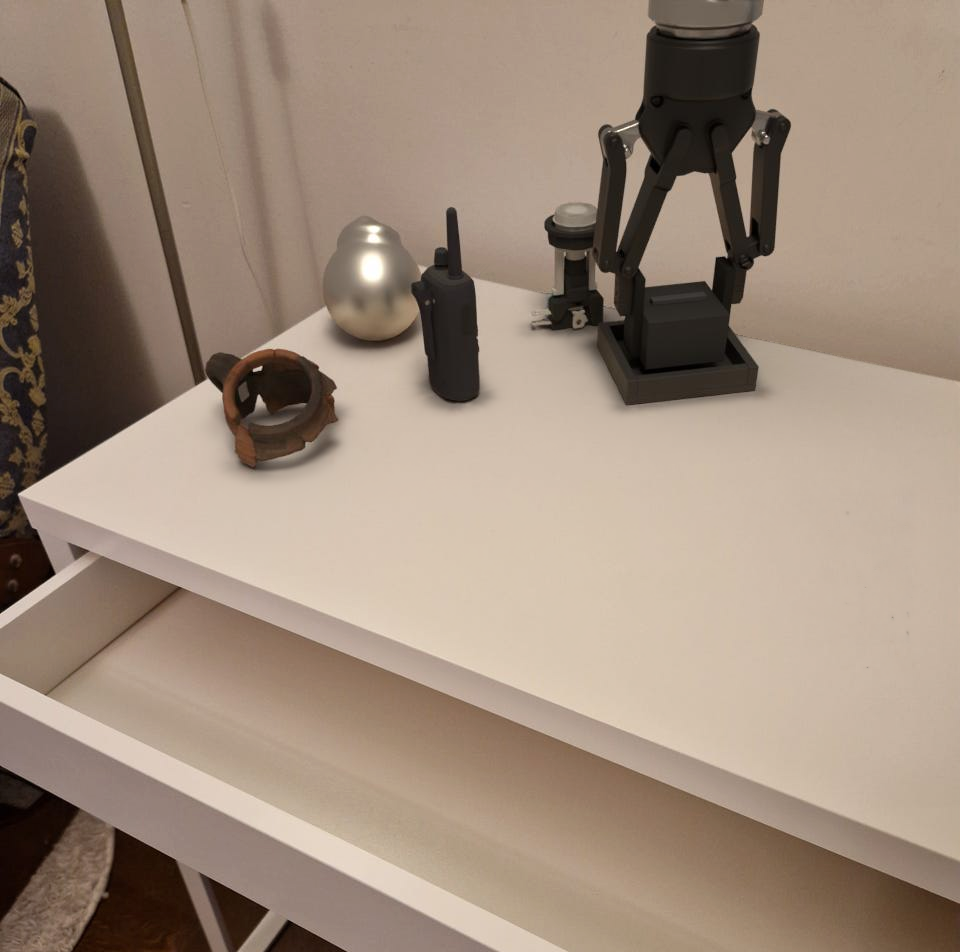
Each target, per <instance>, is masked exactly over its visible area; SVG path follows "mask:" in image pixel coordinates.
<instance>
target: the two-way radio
mask: <svg viewBox="0 0 960 952" xmlns="http://www.w3.org/2000/svg"><path fill="white" fill-rule="evenodd" d="M445 221H446V223H445V224H446V247H443V246H439V247H436V248H435V249H434V257H433V265H429V266H428V267H427V268H426V269H425V270H424V271H423V272H422V273H421V281H417V282H413V283H412V284H411V291H412V294H413V296H414V297H415V299H416V301H417V304H418V307H419V315H420V323H421V331H422V337H423V338H422V340H423V348H424V354H425V355H426V359H427V368H428V380H429V385H430V386H431V388H432V389H433V390H434V391H435V392H436V393H438V394H439V395H440V396H442V397H443V398H445V399H447V400H452V401H455V402H459V401H461V402H463V401H467V400H470V399H473V398H475V397H476V396H477V395H478V394H479V393H480V390H481V389H480V387H481V386H480V385H481V383H480V382H481V381H480V363H479V362H480V361H479V356H480V355H479V353H480V345H479V339H478V337H479V326H478V311H477V309H478V308H477V294H476V293H477V292H476V285H475V281H474V279H473V278H472V277H471V276H470V275H469V274H468V273H467V272H465V271H464V270H463V263H462V251H461V240H460V239H461V238H460V230H459V219H458V211H457V209H456V207H453V206H450V207H448V208H446V211H445Z"/></svg>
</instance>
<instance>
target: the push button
mask: <svg viewBox="0 0 960 952" xmlns="http://www.w3.org/2000/svg"><path fill="white" fill-rule="evenodd" d="M596 216H597V206H595V205H594V204H591V203H588V202H582V201H578V202H576V201H575V202H567V203H563V204H560V205H559V206H556V208H555V209H554V213H553V214H551V215H549V216H547V217H546V219H545V220H544V222H543V223H544V227H543V228H544V230H545V231H546V232H547V240H548V244H549V245H550V246H552V247H553V248H554V287H551V293H548V294H547V295H546V308H541V309H540V310H533V311H531V312H530V314H531V316H532V317H537V316H543V315H544V316H546V317H545V318H541V319H537V320H532V321H530V323H531V325H532V326H533V327H534V326H540V325H542V326H543V325H544V326H546V325H549V326H550V327H551V328H552V330H554V331H557V330H564V329H570V328H573V329H581V328H584V326H589V325H593V326H598V323H600V322H604V306H605V305H604V302H605V301H604V299H605V298H604V296H603V295H602V294H601V293H600V292H599V290H598V285H599V284H598V282H596V266H597V264H596V262H595V260H594V258H593V257H592V249H593V241H594V232H595V224H596Z"/></svg>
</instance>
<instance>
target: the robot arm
mask: <svg viewBox="0 0 960 952" xmlns="http://www.w3.org/2000/svg"><path fill="white" fill-rule="evenodd" d="M647 4H648V5H647V18H648V19H649V20H650V21H651V22H652V23H653V24H655V25H653V26H651V28H650V29H649V31H648V32H647V34H646V38H645V57H644V71H643V73H644V75H643V90H642V91H643V92H642V93H643V94H642V100H641V103H640V105H639V108H638V109H637V112H636V114H635V117H634V119H631V120H630V121H627V122H624V123H622V124H619V125H617V126H612V125H611V124H607V123H606V124H603V125H601V126H600V127H599V129H598V131H597V137H598V142H599V147H600V152H601V155H602V167H601V172H600V173H601V175H600V183H599V191H598V193H599V194H598V199H597V206H596V208H597V216H596V224H595V232H594V241H593V249H592V257H593V258H594V260H595V262H596V266H597V268H598V269H599V271H600V272H601V273H603V274H608V273H611V274H614V289H613V290H614V291H613V305H614V308H615V310H616V312H617V313H618V316H619V317H624V320H625V322H624V340H623V343H624V345H625V347H626V349H627V351H628V353H629V355H630V356H631V358H636V357H640V348H641V333H642V318H643V311H644V297H645V287H646V281H647V279H646V277H645V275H644V274H643V272H642V271H641V269H640V264H641V262H642V260H643V257H644V254H645V252H646V249H647V247H648V244H649V241H650V239H651V236H652V234H653V232H654V228H655V227H656V223H657V220H658V218H659V215H660V213H661V211H662V209H663V206H664V203H665V200H666V198H667V195H668V193H669V192H670V191H672V188H673V187H674V184H675V182H676V180H677V177H683V176H686V175H689V174H692V173H694V172H696V173H701V174H708V176H709V180H710V184H711V189H712V193H713V198H714V202H715V207H716V212H717V216H718V222H719V225H720V230H721V234H722V235H721V236H722V239H723V243H724V244H723V245H724V248H725V252H726V254H727V256H726V255H723V256H715V259H714V260H715V261H714V268H713V269H714V270H713V276H712V277H713V279H712V287H711V290H712V291H713V293H714V294H715V295H716V297H717V298H718V299H719V301H720V302H721V303H722V305H723V306H724V307H725V309H726V310H727V311H728V313H729V314H730V315H731V311H732V305H739V304H741V303H742V300H743V299H744V295H745V293H744V292H745V286H746V280H747V271H750V270H752V268H753V266H754V264H755V259H757V258H759V257H761V256H762V257H769V256H770V255H772V254H773V253H774V251H775V248H776V233H777V219H778V218H777V217H778V206H779V205H778V203H779V188H780V177H781V176H780V175H781V161H782V160H781V159H782V152H783V149H784V147H785V145H786V142H787V139H788V136H789V134H790V131H791V128H792V123H791V121H790V119H788V117H786V116H785V115H783V114H782V113H781V112H780V111H779V110H777V109H775V108H769V109H768V110H767V111H766V110H765V111H764V110H760V109H756V106H755V103H754V101H753V88H754V84H755V77H756V69H757V62H758V53H759V46H760V38H761V32H760V31H759V30H758V27H757V26H756V25H755V24H753V23H754V22H756V21H758V20H759V19H760V17H762V15H763V10H764V4H765V0H648V3H647ZM750 129H751V134H750V137H751V140H752V141H753V142H754V144H753V152H752V172H751V191H750V192H751V193H750V208H749V209H750V211H749V231H748V236H747V231H746V226H745V221H744V216H743V211H742V206H741V201H740V196H739V191H738V186H737V173H736V167H735V163H734V157H733V153H734V151H735V150H736V148H737V147H738V146H739V144H740V143H741V142H742V140H743V139H744V137H745V136H746V135H747V133H748V132H749V131H750ZM639 139H641V141H642V142H643V143H644V145H645V147H646V148H647V150H648V151H649V156H648V159H647V163H646V165H645V168H644V175H643V180H642V183H641V185H640V188H639V190H638V193H637V196H636V199H635V201H634V204H633V207H632V209H631V211H630V212H631V213H630V215H629V218H628V220H627V223H626V226H625V229H624V231H623V233H622V236H621V240H620V241H619V245H618V240H619V234H620V226H621V219H622V211H623V203H624V197H625V196H624V195H625V188H626V181H627V169H628V168H627V167H628V166H627V159H630V158H631V156H632V155H633V152H634V146H635V143H636V142H637V140H639ZM730 318H731V316H730V317H729V321H730ZM728 327H730V324H729V325H728ZM727 335H728V333H727ZM726 343H727V340H726Z"/></svg>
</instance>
